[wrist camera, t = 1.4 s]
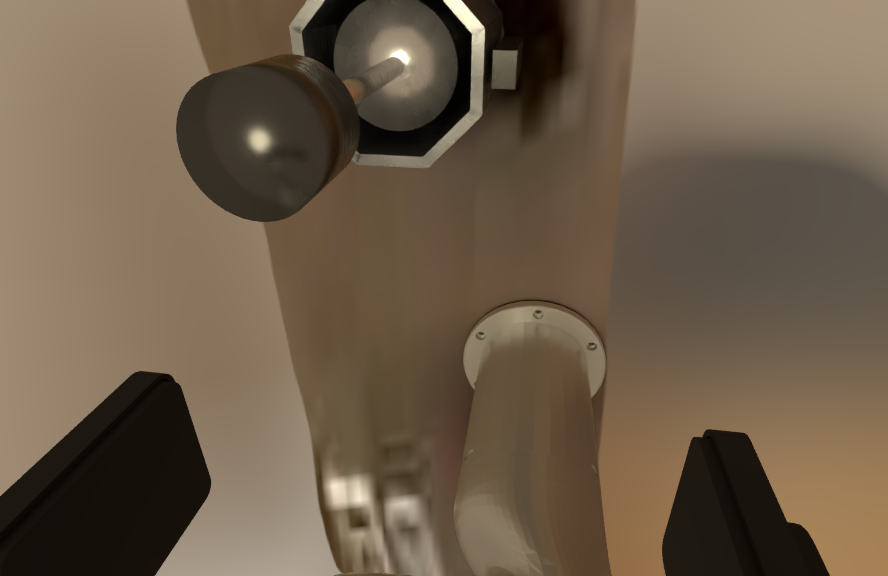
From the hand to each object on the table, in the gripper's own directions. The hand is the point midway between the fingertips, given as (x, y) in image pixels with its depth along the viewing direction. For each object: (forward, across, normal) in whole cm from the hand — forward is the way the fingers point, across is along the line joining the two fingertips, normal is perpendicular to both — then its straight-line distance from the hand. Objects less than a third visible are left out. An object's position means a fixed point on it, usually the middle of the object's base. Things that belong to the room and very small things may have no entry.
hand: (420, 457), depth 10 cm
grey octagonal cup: (+33, +6, -4) cm, 34 cm away
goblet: (+23, +6, -4) cm, 24 cm away
